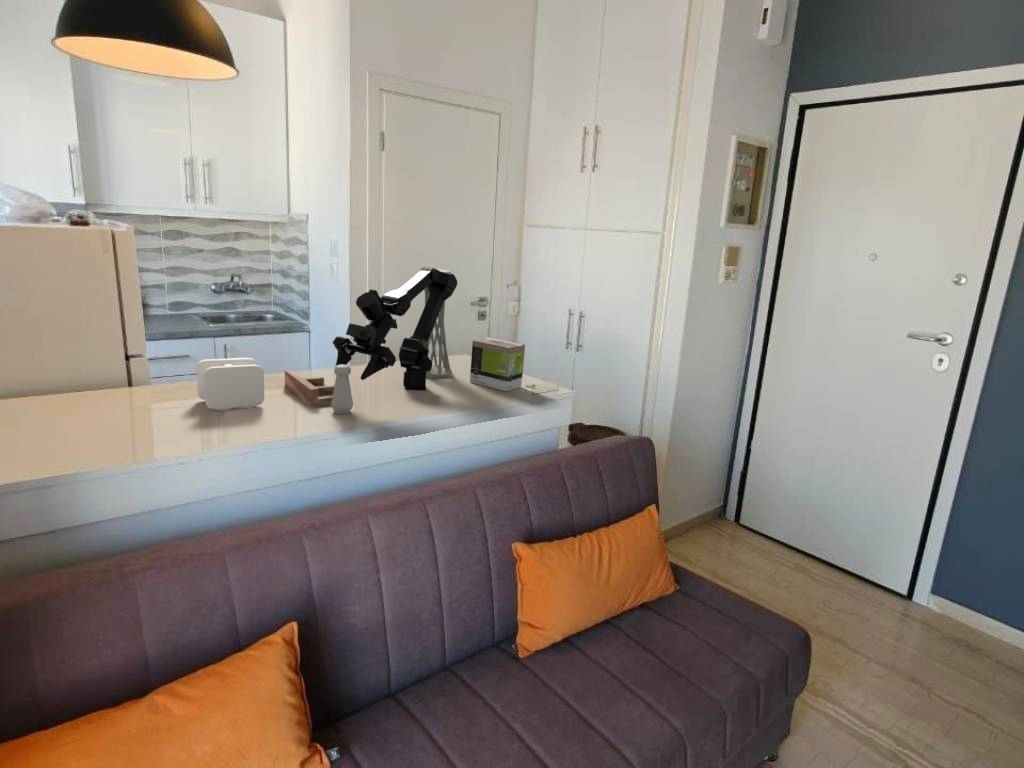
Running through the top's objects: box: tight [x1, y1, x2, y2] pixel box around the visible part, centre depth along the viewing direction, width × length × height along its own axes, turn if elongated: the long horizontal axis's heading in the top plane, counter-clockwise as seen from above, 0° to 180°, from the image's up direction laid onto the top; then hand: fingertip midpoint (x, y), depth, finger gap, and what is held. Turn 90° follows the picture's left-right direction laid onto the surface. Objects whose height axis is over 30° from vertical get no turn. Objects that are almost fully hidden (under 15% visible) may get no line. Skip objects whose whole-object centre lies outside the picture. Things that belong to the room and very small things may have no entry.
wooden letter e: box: [284, 369, 335, 408], centre depth 179 cm, size 12×20×5 cm, turn 39°
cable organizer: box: [196, 357, 265, 411], centre depth 164 cm, size 15×11×12 cm
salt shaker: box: [330, 364, 354, 415], centre depth 165 cm, size 6×6×13 cm
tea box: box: [469, 336, 526, 392], centre depth 204 cm, size 15×10×15 cm, turn 58°
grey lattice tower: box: [423, 268, 453, 379], centre depth 208 cm, size 14×13×35 cm
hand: (348, 375), depth 166 cm, fingers open, 9 cm apart
